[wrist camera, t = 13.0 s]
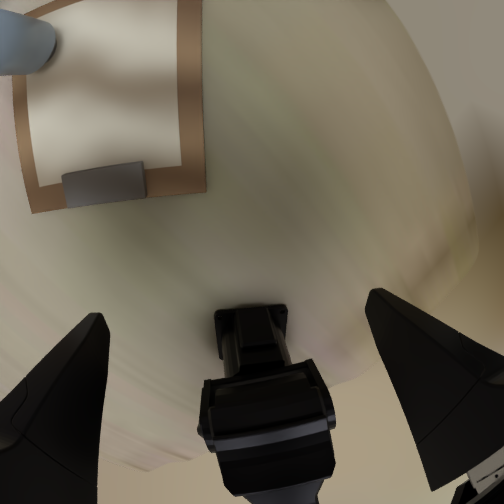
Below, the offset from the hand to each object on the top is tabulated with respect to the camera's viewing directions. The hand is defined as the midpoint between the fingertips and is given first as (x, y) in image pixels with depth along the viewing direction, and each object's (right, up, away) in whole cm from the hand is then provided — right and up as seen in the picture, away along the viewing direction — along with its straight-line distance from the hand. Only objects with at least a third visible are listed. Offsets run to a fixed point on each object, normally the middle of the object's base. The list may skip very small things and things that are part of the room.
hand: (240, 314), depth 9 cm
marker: (-14, +15, +2) cm, 21 cm away
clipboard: (-10, +13, +6) cm, 17 cm away
